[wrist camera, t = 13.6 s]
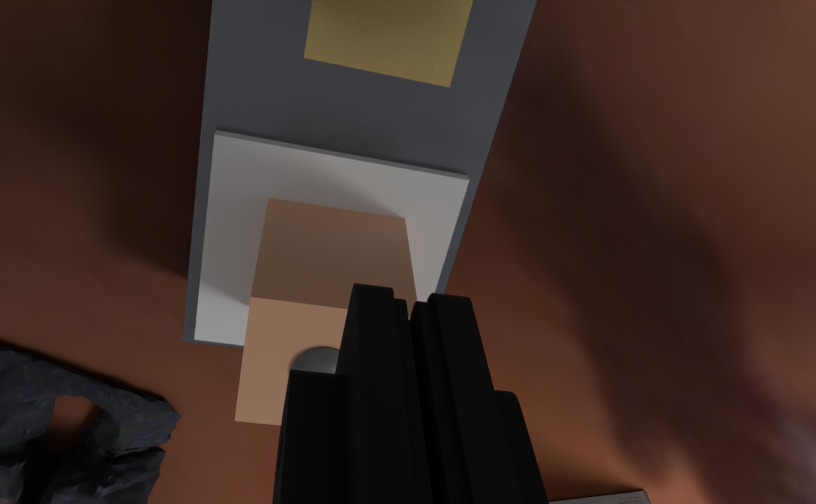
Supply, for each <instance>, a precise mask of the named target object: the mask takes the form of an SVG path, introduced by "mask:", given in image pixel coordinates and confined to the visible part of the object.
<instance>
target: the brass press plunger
mask: <svg viewBox="0 0 816 504" xmlns="http://www.w3.org/2000/svg"><path fill="white" fill-rule="evenodd" d="M472 3H473V0H313V1H312V7H311V13H310V20H309V26H308V32H307V38H306V45H305V51H304V58H307V59H312V60H317V61H322V62H327V63H332V64H337V65H342V66H347V67H351V68H356V69H361V70H366V71H371V72H376V73H381V74H386V75H391V76H396V77H400V78H405V79H410V80H415V81H420V82H425V83H430V84H435V85H440V86H445V87H450V84H451V80H452V76H453V73H454V69H455V65H456V62H457V58H458V54H459V51H460V47H461V43H462V40H463V36H464V32H465V29H466V25H467V21H468V18H469V14H470V10H471V7H472Z"/></svg>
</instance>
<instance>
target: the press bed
mask: <svg viewBox="0 0 816 504" xmlns="http://www.w3.org/2000/svg"><path fill="white" fill-rule="evenodd" d="M312 1H313V0H212V11H211V22H210V34H209V45H208V56H207V68H206V79H205V90H204V102H203V113H202V125H201V136H200V147H199V159H198V170H197V181H196V193H195V204H194V215H193V227H192V238H191V250H190V261H189V272H188V284H187V295H186V306H185V318H184V329H183V340H182V341H186V342H194V343H201V344H209V345H217V346H225V347H233V348H241V349H244V344H245V336H246V328H247V320H248V313H249V305H250V297H251V292H252V286H253V281H254V275H255V270H256V264H257V259H258V253H259V248H260V242H261V237H262V232H263V226H264V221H265V215H266V210H267V204H268V199H269V198H273V199H280V200H286V201H293V202H299V203H306V204H312V205H319V206H325V207H332V208H338V209H345V210H351V211H358V212H364V213H371V214H377V215H384V216H390V217H397V218H403V219H405V222H406V228H407V235H408V242H409V248H410V255H411V262H412V268H413V275H414V282H415V289H416V295H417V301H423V302H427V299H428V297H429V295H430V294H431V293H439V294H444V292H445V289H446V286H447V282H448V279H449V276H450V273H451V270H452V267H453V263H454V260H455V257H456V254H457V251H458V248H459V245H460V241H461V238H462V235H463V232H464V229H465V226H466V223H467V219H468V216H469V213H470V210H471V207H472V204H473V201H474V197H475V194H476V191H477V188H478V185H479V182H480V179H481V175H482V172H483V169H484V166H485V163H486V160H487V156H488V153H489V150H490V147H491V144H492V141H493V138H494V134H495V131H496V128H497V125H498V122H499V119H500V116H501V112H502V109H503V106H504V103H505V100H506V97H507V94H508V90H509V87H510V84H511V81H512V78H513V75H514V72H515V68H516V65H517V62H518V59H519V56H520V53H521V50H522V46H523V43H524V40H525V37H526V34H527V31H528V27H529V24H530V21H531V18H532V15H533V12H534V9H535V5H536V2H537V0H473V3H472V7H471V10H470V14H469V18H468V21H467V25H466V29H465V32H464V36H463V40H462V43H461V47H460V51H459V54H458V58H457V62H456V65H455V69H454V73H453V76H452V80H451V84H450V87H445V86H440V85H435V84H430V83H425V82H420V81H415V80H410V79H405V78H400V77H396V76H391V75H386V74H381V73H376V72H371V71H366V70H361V69H356V68H351V67H347V66H342V65H337V64H332V63H327V62H322V61H317V60H312V59H307V58H304V51H305V45H306V38H307V32H308V26H309V20H310V13H311V7H312Z"/></svg>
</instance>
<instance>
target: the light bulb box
mask: <svg viewBox="0 0 816 504" xmlns="http://www.w3.org/2000/svg"><path fill="white" fill-rule="evenodd" d="M549 504H651V502H650V500H649V497H648V495H647V493H646V491H645V490H643V491H638V492H630V493H622V494H613V495H604V496H596V497H587V498H579V499H570V500H561V501H553V502H549Z"/></svg>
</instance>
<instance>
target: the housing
mask: <svg viewBox="0 0 816 504" xmlns="http://www.w3.org/2000/svg"><path fill="white" fill-rule="evenodd" d="M354 283H359V284H367V285H375V286H383V287H391V288H392V289H393V292H394V298H398V299H405V300H406V302H407V308H408V316H409V320H410V316H411V312H412V309H413V306H414V303H415V302H416V301H417V295H416V289H415V282H414V275H413V268H412V262H411V255H410V248H409V242H408V235H407V228H406V222H405V219H403V218H397V217H390V216H384V215H377V214H371V213H364V212H358V211H351V210H345V209H338V208H332V207H325V206H319V205H312V204H306V203H299V202H293V201H286V200H280V199H273V198H269V199H268V204H267V210H266V215H265V221H264V226H263V232H262V237H261V242H260V248H259V253H258V259H257V264H256V270H255V275H254V281H253V286H252V292H251V297H250V305H249V313H248V320H247V328H246V336H245V344H244V352H243V359H242V367H241V375H240V383H239V390H238V398H237V406H236V414H235V421H240V422H251V423H261V424H271V425H281V422H282V415H283V408H284V402H285V396H286V389H287V383H288V377H289V372H290V370H291V369H292V370H302V371H312V372H321V373H331V374H335V369H336V365H337V360H338V355H339V350H340V345H341V340H342V335H343V330H344V326H345V321H346V316H347V311H348V306H349V301H350V296H351V292H352V288H353V285H354Z"/></svg>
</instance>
